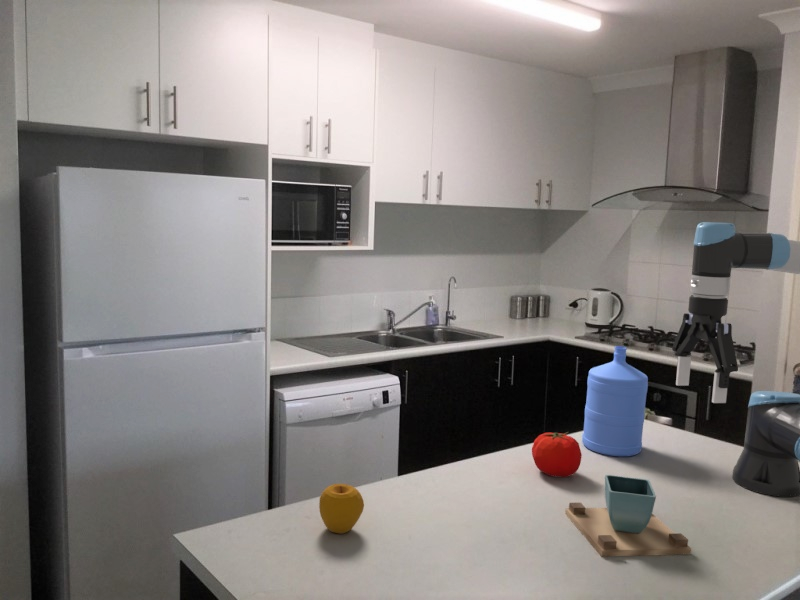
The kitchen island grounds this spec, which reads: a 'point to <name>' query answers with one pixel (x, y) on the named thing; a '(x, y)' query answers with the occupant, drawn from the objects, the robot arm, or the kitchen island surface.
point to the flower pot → (629, 502)
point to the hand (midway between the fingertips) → (699, 393)
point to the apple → (340, 507)
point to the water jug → (615, 407)
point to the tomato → (556, 454)
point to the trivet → (625, 535)
